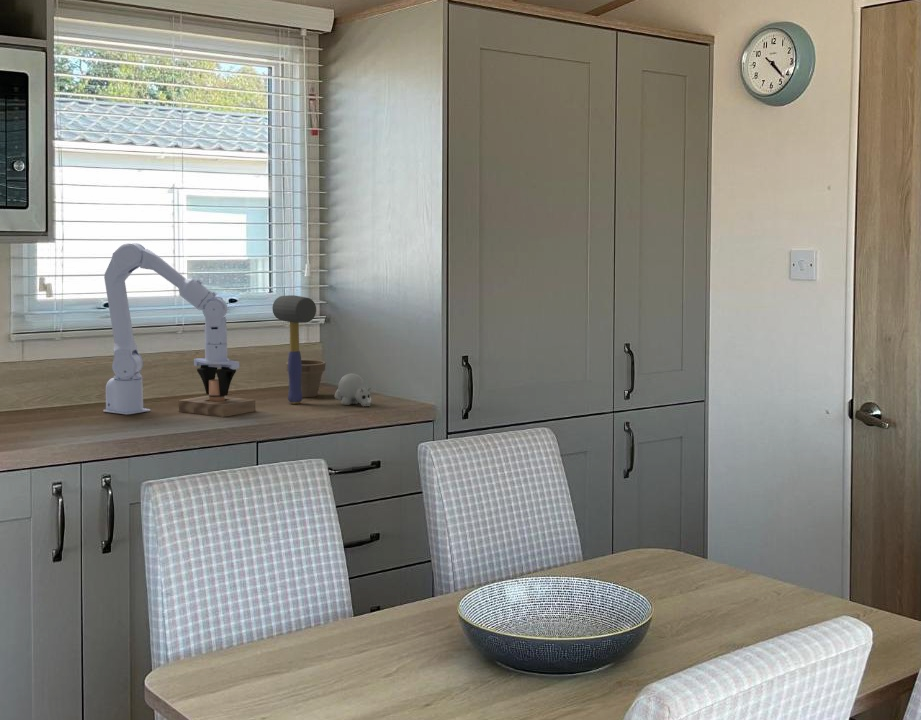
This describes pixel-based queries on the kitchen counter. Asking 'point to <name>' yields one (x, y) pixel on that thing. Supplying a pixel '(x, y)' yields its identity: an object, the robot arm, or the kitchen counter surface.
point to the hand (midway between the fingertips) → (216, 394)
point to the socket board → (217, 406)
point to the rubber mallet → (294, 336)
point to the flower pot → (310, 376)
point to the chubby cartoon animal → (353, 390)
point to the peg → (215, 391)
